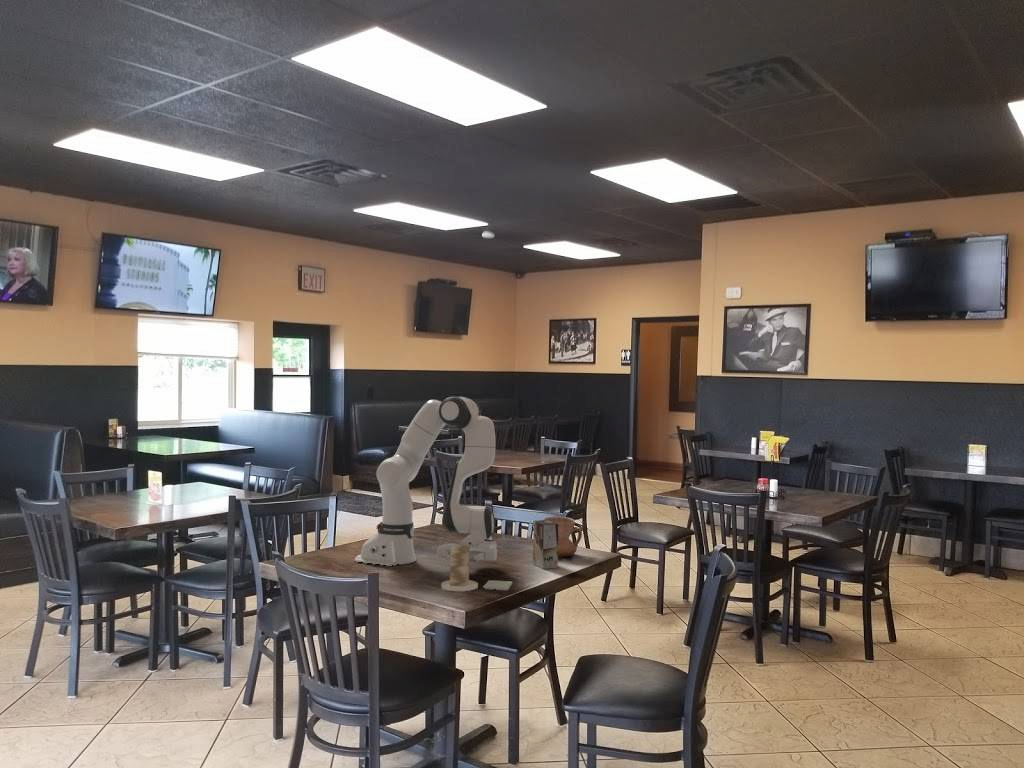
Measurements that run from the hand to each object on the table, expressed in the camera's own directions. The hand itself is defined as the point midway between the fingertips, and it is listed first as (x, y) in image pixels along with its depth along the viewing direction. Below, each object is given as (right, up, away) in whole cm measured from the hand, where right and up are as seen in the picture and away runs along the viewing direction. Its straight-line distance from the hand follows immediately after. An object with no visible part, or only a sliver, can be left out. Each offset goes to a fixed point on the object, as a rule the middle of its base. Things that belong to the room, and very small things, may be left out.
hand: (461, 557), depth 251 cm
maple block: (-1, -8, -3) cm, 9 cm away
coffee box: (+29, -10, +28) cm, 41 cm away
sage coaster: (+12, -9, -2) cm, 15 cm away
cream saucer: (-1, -9, -3) cm, 10 cm away
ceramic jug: (+35, -10, +45) cm, 58 cm away
